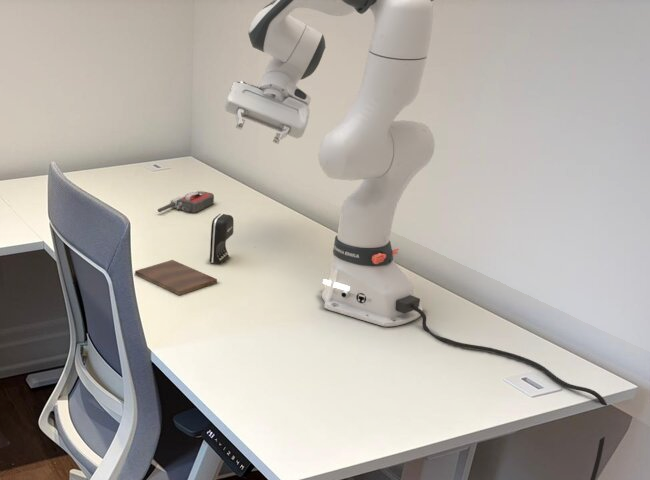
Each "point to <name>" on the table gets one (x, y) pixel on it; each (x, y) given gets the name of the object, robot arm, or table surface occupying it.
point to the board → (175, 277)
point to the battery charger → (220, 237)
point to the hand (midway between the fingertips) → (257, 134)
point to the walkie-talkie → (191, 202)
